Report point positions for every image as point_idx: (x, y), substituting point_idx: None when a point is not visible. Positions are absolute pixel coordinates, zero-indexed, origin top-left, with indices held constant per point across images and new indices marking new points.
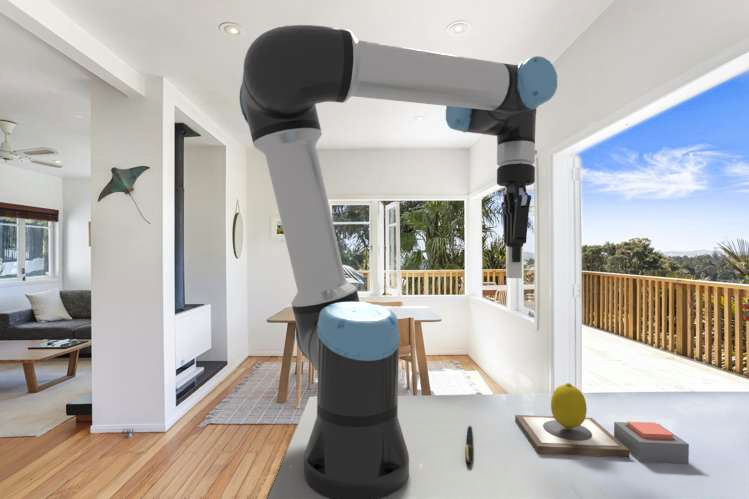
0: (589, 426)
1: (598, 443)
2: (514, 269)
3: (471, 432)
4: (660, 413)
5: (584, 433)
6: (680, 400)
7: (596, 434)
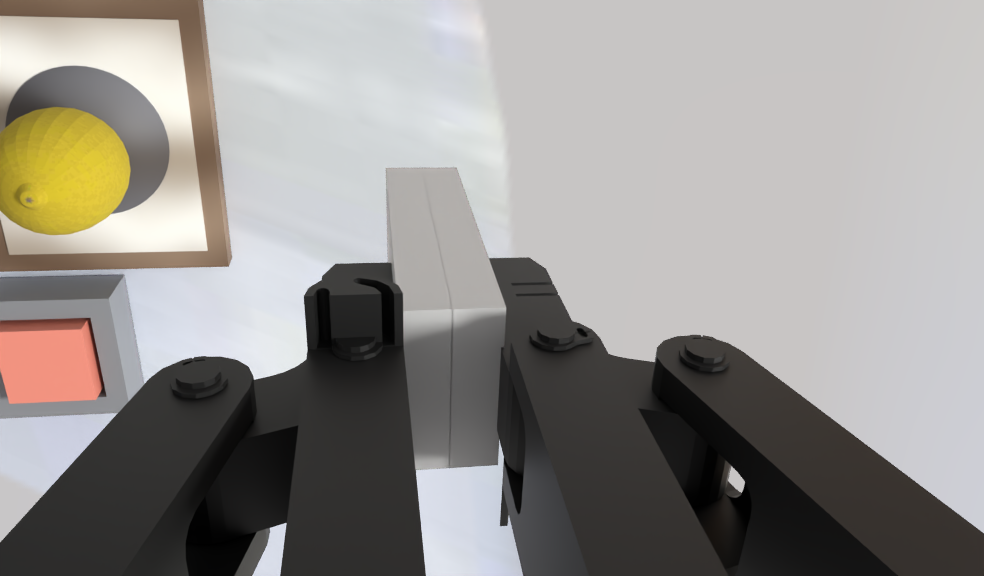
0: (143, 228)
1: None
2: (389, 254)
3: None
4: None
5: None
6: (472, 572)
7: None
